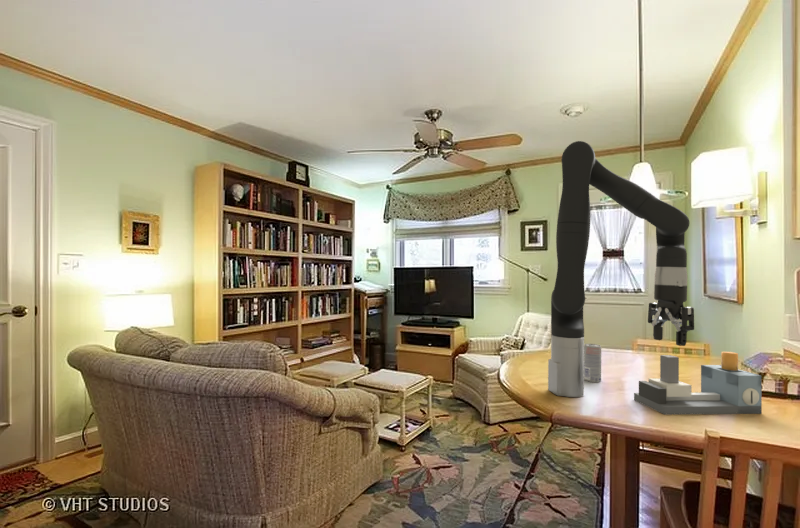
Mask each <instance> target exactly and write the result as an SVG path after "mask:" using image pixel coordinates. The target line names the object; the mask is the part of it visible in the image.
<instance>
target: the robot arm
mask: <svg viewBox="0 0 800 528" xmlns="http://www.w3.org/2000/svg"><path fill="white" fill-rule="evenodd" d="M561 155H562V156H561V158H560V159H561V169H562V170H561V171H562V188H561V195H560V200H559V201H560V202H559V207H558V213H557V220H556V221H557V222H556V223H557V224H556V237H555V243H556V245H555V246H556V248H555V249H556V258H557V272H556V278H555V282H554V283H555V284H554V287H553V291H552V292H551V297H550V298H551V299H550V303H551V304H550V306H551V307H550V308H551V310H550V311H551V312H550V315H551V318H550V332H551V333H550V334H551V335H550V336H551V338H550V339H551V342H550V343H551V345H550V347H551V348H550V350H551V351H550V358H549V359H548V363H547V366H548V367H547V369H548V370H547V373H548V375H547V376H548V377H547V380H548V381H547V384H548V385H547V391H549V392H551V393H553V394H554V395H555V396H559V397H560V396H562V397H568V398H579V397H583V396H584V394H585V393H584V392H585V391H584V390H585V384H584V383H585V382H584V381H585V379H584V346H585V326H584V305H585V303H586V295H585V294H586V293H585V292H586V291H585V264H586V259H587V256H588V255H587V254H588V249H589V240H590V233H591V231H590V230H591V202H590V201H591V200H590V186H591V187H594V188H595V189H596V190H599V191H600V192H602V193H603V194H604V195H606V196H607V197H608V198H610V199H611V200H613V201H614V202H615V203H617V205H618V204H619V205H620V206H621V207H623V208H624V209H625V210H626V211H628V212H630V213H631V214H633V215H634V216H636V217H637V218H639V219H642V220H645V221H646V222H648V223H649V224H650V225H652V226H654V227H655V238H656V258H655V261H656V262H655V263H656V264H655V273H654V284H653V285H654V286H653V287H654V288H653V290H654V291H653V294H654V296H653V298H654V300H655V301H657V302H649V303H648V311H647V312H648V313H647V323H648V324H651V325H652V328H653V333H652V336H653V339H654V340H655V341H662V340H663V339H664V337H663V335H664V334H663V333H664V327H663V326H664V324H665V323H666V322H668V321H669V322H671V324H672V325H674V327H675V329H676V331H675V345H677V346H679V347H685V346H686V345H687V343H688V342H687V339H688V338H687V335H688V332H689V331H694V330H695V309H694V307H692V306H684V303H686V302H687V300H688V271H687V270H688V269H687V266H688V265H687V263H688V261H687V260H688V256H687V255H688V253H687V249H686V247H685V240H686V239H685V236H686V235H685V234H686V232H687V230H688V229H689V227H690V218H689V216H687V214H686V213H684V212H683V210H681V209H680V208H679V209H678V208H677V207H675V206H673V205H672V204H670V203H668V202H665V201H663V200H661V199H660V198H658V197H656V196H655V195H654V194H653V193H652V192H649V191H648V190H647V189H645V188H643V186H640V185H639V184H637V183H635V182H634V181H631V180H629V179H627V178H624V177H622V176H620V175H618V174H616V173H614V172H613V171H612V170H610V169H608V168H607V167H605V166H604V165H603V164H602V163H601V162H600V161H599V160H598V159H597V158H596V154H595V150H594V149H593V147H592V145H590V144H589V143H587V142H586V141H582V140H577V141H574V142H572V143H570V144H568V146H567V147H565V149H564V150H563V152H562V154H561Z"/></svg>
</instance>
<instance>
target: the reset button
mask: <svg viewBox="0 0 800 528" xmlns="http://www.w3.org/2000/svg"><path fill="white" fill-rule="evenodd" d="M720 352H721V355H720V356H721V357H720V358H721V361H720V362H721V364H720V365H721V368H722V369H726V370H735V371H736V370H738V369H739V353H738V352H734V351H720Z"/></svg>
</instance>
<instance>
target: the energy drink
mask: <svg viewBox="0 0 800 528" xmlns="http://www.w3.org/2000/svg"><path fill="white" fill-rule="evenodd" d="M584 381H585V382H590V383H601V382H602V346H601V344H595V343H584Z"/></svg>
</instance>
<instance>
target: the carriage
mask: <svg viewBox="0 0 800 528" xmlns="http://www.w3.org/2000/svg"><path fill="white" fill-rule="evenodd" d="M659 356H660V357H659V359H660V360H659V361H660V362H659V363H660V365H659V369H660V371H659V372H660V373H659V376H660V377H659V378H654V377H653V378H648V382H650V383H652V384H655V385H657V386H660V387H662V388H665V389H666V397H692V393H693V392H692V388H693V387H692V385H691V384H689V383H686V382H683V381H680V380H679V377H680V376H679V375H680V373H679V372H680V365H679V363H680V358H679V356H676V355H671V354H660V355H659Z"/></svg>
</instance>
